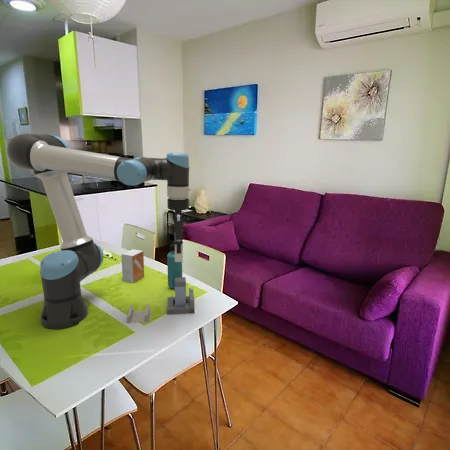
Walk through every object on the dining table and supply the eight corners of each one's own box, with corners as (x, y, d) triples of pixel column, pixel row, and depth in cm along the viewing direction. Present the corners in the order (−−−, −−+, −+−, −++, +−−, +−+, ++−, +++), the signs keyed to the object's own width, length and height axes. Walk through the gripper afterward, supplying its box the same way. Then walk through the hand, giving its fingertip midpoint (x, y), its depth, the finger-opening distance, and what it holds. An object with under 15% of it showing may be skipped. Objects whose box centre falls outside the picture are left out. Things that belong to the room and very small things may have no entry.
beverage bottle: (180, 292, 136) (179, 247, 131) (165, 290, 138) (164, 246, 133) (184, 286, 143) (184, 243, 138) (170, 284, 144) (169, 241, 139)
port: (167, 316, 118) (166, 299, 116) (167, 302, 127) (167, 287, 126) (194, 314, 119) (194, 298, 118) (192, 301, 129) (192, 286, 127)
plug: (175, 311, 121) (174, 282, 118) (175, 306, 125) (174, 277, 122) (186, 310, 122) (185, 281, 119) (185, 305, 125) (185, 277, 122)
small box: (133, 283, 144) (132, 256, 141) (122, 280, 146) (120, 253, 143) (144, 276, 151) (143, 250, 148) (133, 274, 154) (132, 248, 150)
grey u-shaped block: (126, 324, 112) (125, 316, 111) (129, 312, 119) (128, 305, 119) (149, 322, 113) (149, 315, 112) (151, 311, 121) (150, 304, 120)
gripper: (190, 204, 101) (190, 267, 107) (187, 192, 125) (187, 244, 130) (166, 204, 100) (167, 267, 105) (168, 192, 124) (168, 244, 129)
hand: (178, 254), depth 118 cm, fingers open, 13 cm apart
